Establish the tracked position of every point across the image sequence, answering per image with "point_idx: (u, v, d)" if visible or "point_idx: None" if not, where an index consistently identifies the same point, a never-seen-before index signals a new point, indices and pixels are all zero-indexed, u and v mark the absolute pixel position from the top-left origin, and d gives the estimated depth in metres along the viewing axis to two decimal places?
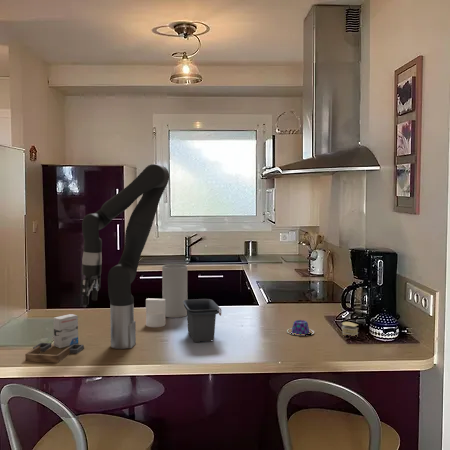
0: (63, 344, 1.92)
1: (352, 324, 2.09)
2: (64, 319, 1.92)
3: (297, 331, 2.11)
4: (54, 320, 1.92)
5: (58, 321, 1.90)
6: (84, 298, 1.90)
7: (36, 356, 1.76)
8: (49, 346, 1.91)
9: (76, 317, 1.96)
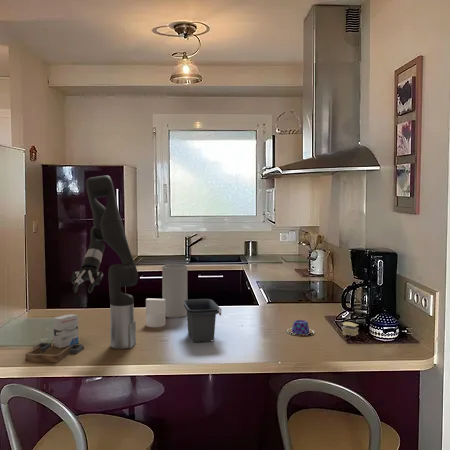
0: (63, 344, 1.92)
1: (352, 324, 2.09)
2: (64, 319, 1.92)
3: (297, 331, 2.11)
4: (54, 320, 1.92)
5: (58, 321, 1.90)
6: None
7: (36, 356, 1.76)
8: (49, 346, 1.91)
9: (76, 317, 1.96)
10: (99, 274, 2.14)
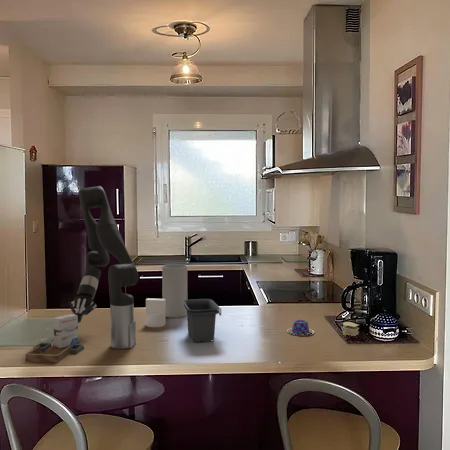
0: (63, 344, 1.92)
1: (353, 324, 2.09)
2: (64, 319, 1.92)
3: (297, 331, 2.11)
4: (54, 320, 1.92)
5: (58, 321, 1.90)
6: None
7: (36, 356, 1.76)
8: (49, 346, 1.91)
9: (76, 317, 1.96)
10: (91, 305, 2.09)
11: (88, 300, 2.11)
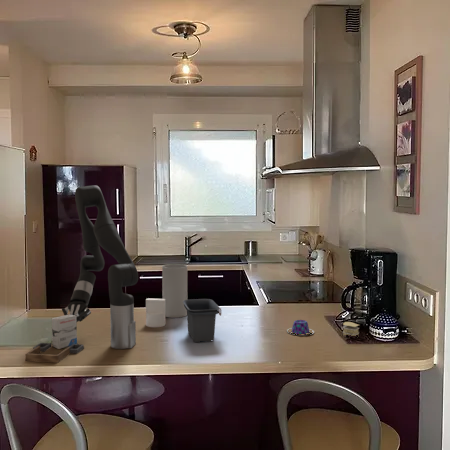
0: (61, 345, 1.91)
1: (353, 324, 2.09)
2: (63, 320, 1.91)
3: (297, 331, 2.11)
4: (53, 321, 1.91)
5: (57, 321, 1.89)
6: None
7: (36, 356, 1.76)
8: (49, 346, 1.91)
9: (75, 318, 1.95)
10: (85, 311, 2.03)
11: (82, 306, 2.04)
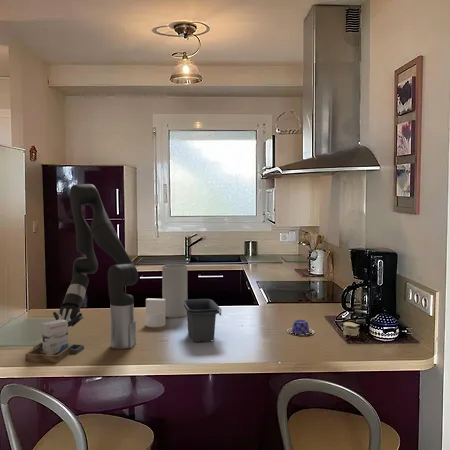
0: (52, 351, 1.83)
1: (353, 324, 2.08)
2: (53, 325, 1.83)
3: (297, 331, 2.11)
4: (43, 326, 1.84)
5: (47, 326, 1.82)
6: None
7: (36, 356, 1.76)
8: None
9: (66, 323, 1.87)
10: (77, 316, 1.95)
11: (74, 310, 1.97)
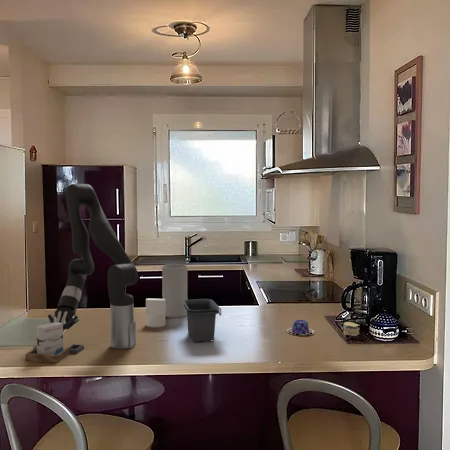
0: None
1: (353, 324, 2.08)
2: (48, 328, 1.79)
3: (297, 331, 2.11)
4: (37, 329, 1.80)
5: (42, 330, 1.78)
6: None
7: (36, 356, 1.76)
8: None
9: (61, 326, 1.83)
10: (73, 318, 1.91)
11: (70, 313, 1.93)
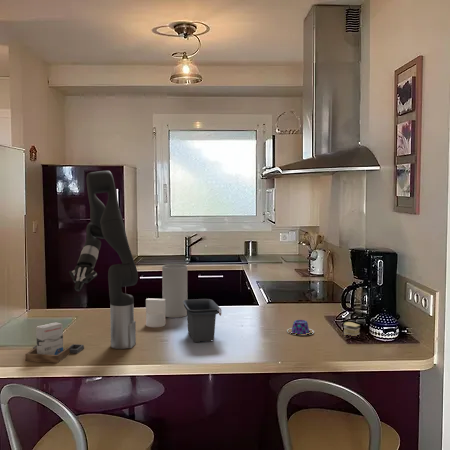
0: None
1: (354, 324, 2.08)
2: (47, 328, 1.79)
3: (298, 331, 2.11)
4: (37, 329, 1.80)
5: (41, 330, 1.78)
6: None
7: (36, 356, 1.76)
8: None
9: (61, 326, 1.83)
10: (92, 273, 2.09)
11: (89, 269, 2.11)
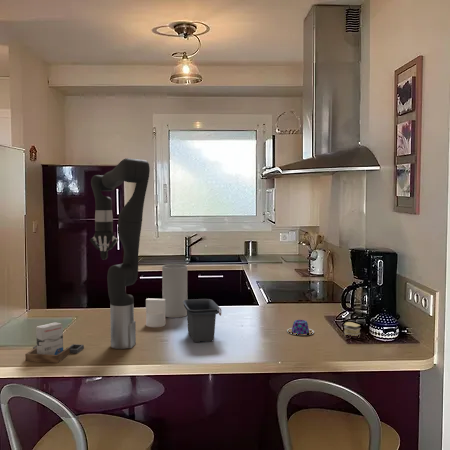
0: None
1: (354, 324, 2.08)
2: (47, 328, 1.79)
3: (299, 331, 2.11)
4: (37, 329, 1.80)
5: (41, 330, 1.78)
6: None
7: (36, 356, 1.76)
8: None
9: (61, 326, 1.83)
10: (113, 242, 2.12)
11: (108, 236, 2.12)
